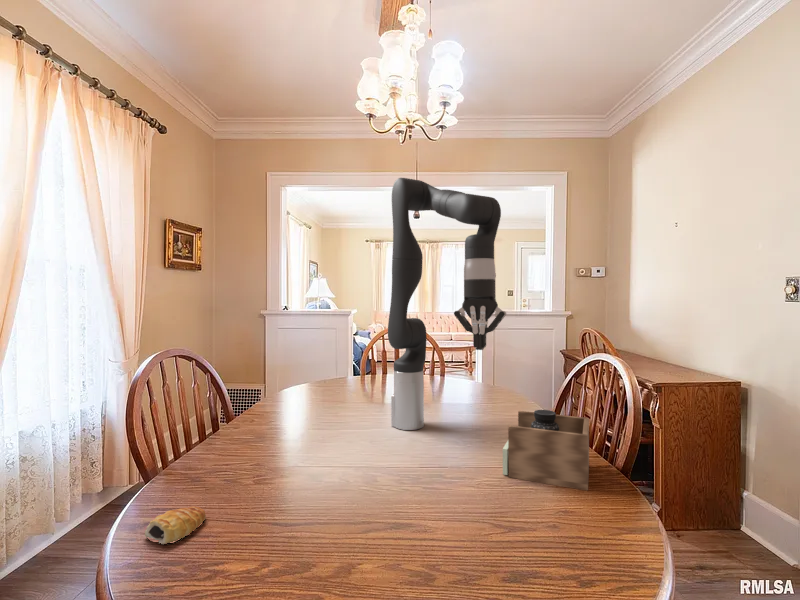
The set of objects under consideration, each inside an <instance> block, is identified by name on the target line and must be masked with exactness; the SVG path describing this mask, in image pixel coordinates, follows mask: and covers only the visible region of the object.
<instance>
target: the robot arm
mask: <svg viewBox="0 0 800 600" xmlns="http://www.w3.org/2000/svg"><path fill="white" fill-rule="evenodd" d="M391 190H392V191H391V212H392V213H391V214H392V259H391V260H392V261H391V293H390V295H391V296H390V297H391V298H390V306H389V307H390V308H389V315H388V316H389V317H388V324H387V340H388V343H389V344H390V346H391V347H392V348H393V349H395V350H404V349H405V351H404V353H403V354H402V355H401V356H400V357H398V358H397V359H395V361H393V394H392V395H391V396H390V397H391V399H390V400H391V401H390V407H391V408H390V410H391V414H390V415H391V427H393V428H396V429H399V430H404V431H413V430H420V429H422V428H424V426H425V425H424V424H425V423H424V422H425V416H424V415H425V412H424V411H425V409H424V408H425V407H424V406H425V404H424V403H425V402H424V401H425V400H424V397H425V396H424V395H425V393H424V391H425V390H424V389H425V388H424V387H425V386H424V384H425V383H424V381H425V380H424V367H425V366H424V365H425V362H426V358H427V328H426V325H425V323H424V321H423V320H421V319H420V318H417V317H409V318H408V308H409V304H410V300H411V298H412V296H413V295H414V293H415V291H416V288H417V287H418V286H419V283H420V282H421V279H422V276H423V275H422V274H423V258H424V257H423V252H422V250H421V249H422V248H421V246H420V245H419V243H418V240H417V238H416V237H415V235H414V233H413V231H412V228H411V224H410V216H409V212H411V211H412V212H421V211H422V212H423V211H433V212H435V213H437V214H438V215H440V216H443V217H446V218H450V219H453V220H456V221H458V222H459V223H463V224H467V225H474V226H478V228H477V232H476V234H471V235H468V236H467V237H466V238H465V240H464V264H463V265H464V267H463V303H462V304H461V307H460V308H459V309H458V310H455V311H454V312H453V315H454V316H455V317H456V319H457V320H458V322H459V323H460V324H461V326H462V327H463V329H464V330H465V331H466V332H469V333H471V334H472V336H473V339H472V340H473V342H472V344H473V347H474V348H475V350H476V351H483V350H484V349H485V348H486V346H487V335H488V334H489V333H492V332H494V331H495V329H496V328H497V327H498V326H499V324H500V323H501V322H502V321H503V319H504V318H505V317H506V316H507V311H505V310H502V309H501V308H500V307H499V306H498V302H497V298H496V278H497V277H496V276H497V273H496V264H495V240H496V236H497V233H498V229H499V226H500V221H501V217H502V216H501V215H502V210H501V206H500V202H499V201H498V200H497V199H496V198H494V197H491V196H487V195H479V194H473V193H465V192H463V191H458V190H452V189H439V188H437V187H434V186H433V185H431V184H429V183H427V182H425V181H424V180H419V179H414V178H413V179H412V178H407V177H398V178H397V179H396V180H395V181H394V183H393V185H392V189H391ZM494 313H495V314H494ZM493 314H494V317H495V318H494V319H493V321H491V323H490V324H489V319H490V318H492V316H493ZM466 315H467V316H468V317H469V318H470V321H471V322H469V320H468V319H467V317H466ZM488 325H489V326H488Z"/></svg>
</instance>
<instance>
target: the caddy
mask: <svg viewBox="0 0 800 600" xmlns="http://www.w3.org/2000/svg"><path fill="white" fill-rule="evenodd" d="M517 414H518V415H517V418H518V419H517V421H518V422H517V425H510V424H508V427H507V431H508V432H507V433H508V434H507V435H508V437H507V441H508V458H509V473H508V478H512V479H518V480H522V481H528V482H529V481H530V482H534V483H536V482H537V483H542V484H547V485H553V486H558V487H564V488H565V487H566V488H571V489H577V490H582V491H589V474H590V473H589V472H590V418H589V417H583V416H582V417H581V416H573V415H572V416H571V415H563V414H556V419H555V422H556V423H557V424H558V426H559V431H554V430H545V429H537V428H531V424H532V422H533V421H535V417H534V411H525V410H518V413H517Z"/></svg>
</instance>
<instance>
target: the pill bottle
mask: <svg viewBox="0 0 800 600" xmlns="http://www.w3.org/2000/svg"><path fill="white" fill-rule="evenodd" d="M533 412H534V417H535V421H533V422H532V424H531V428H537V429H545V430H554V431H559V426H558V424H557V423H556V422H555V419H556V415H557V414H556V412H555V411H554V410H553V411H552V410H549V409H535V410H534V411H533Z"/></svg>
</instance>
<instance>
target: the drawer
mask: <svg viewBox="0 0 800 600" xmlns="http://www.w3.org/2000/svg"><path fill="white" fill-rule="evenodd" d="M502 475H504V476H509V458H508V440H507V441H506V442H505V444H504V446H503V447H502Z"/></svg>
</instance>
